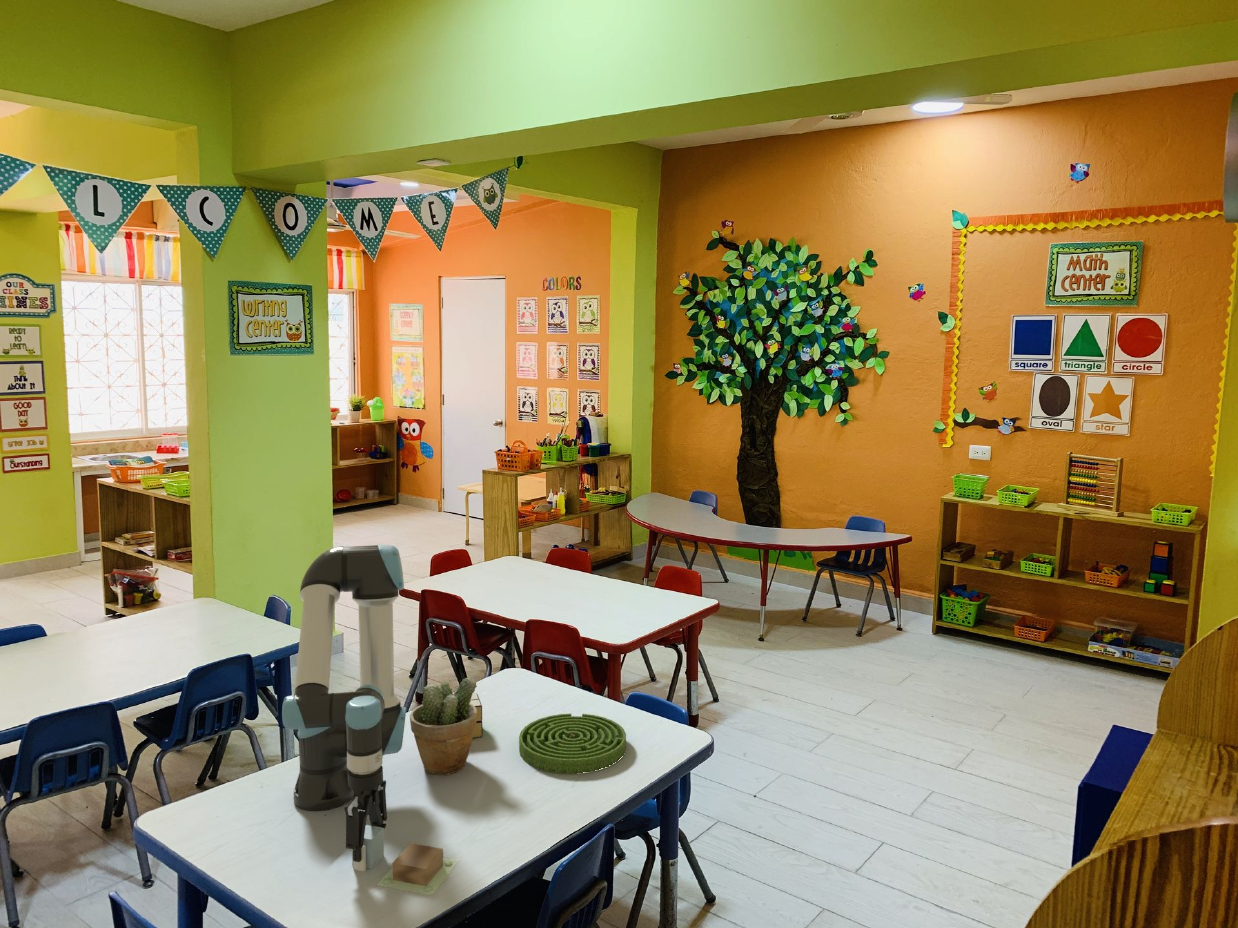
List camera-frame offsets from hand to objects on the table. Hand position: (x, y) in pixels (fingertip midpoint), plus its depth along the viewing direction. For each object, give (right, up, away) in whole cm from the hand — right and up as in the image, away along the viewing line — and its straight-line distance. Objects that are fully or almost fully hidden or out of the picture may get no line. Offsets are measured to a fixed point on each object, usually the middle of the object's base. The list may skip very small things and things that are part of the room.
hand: (368, 863), depth 201 cm
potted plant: (+8, +6, +47) cm, 48 cm away
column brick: (0, 0, 0) cm, 0 cm away
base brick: (+12, 0, -4) cm, 13 cm away
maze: (+43, +7, +58) cm, 73 cm away
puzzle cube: (+10, +9, +68) cm, 70 cm away
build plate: (+12, -1, -4) cm, 13 cm away
